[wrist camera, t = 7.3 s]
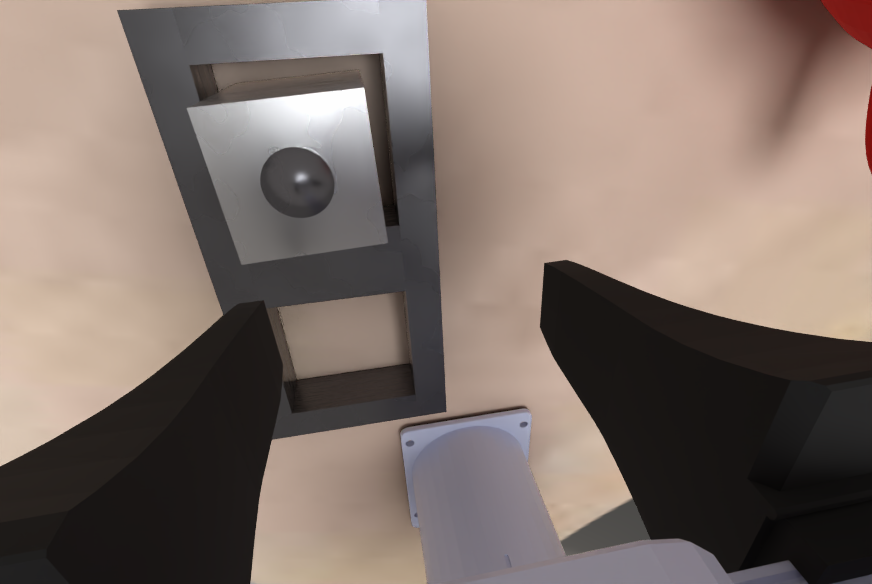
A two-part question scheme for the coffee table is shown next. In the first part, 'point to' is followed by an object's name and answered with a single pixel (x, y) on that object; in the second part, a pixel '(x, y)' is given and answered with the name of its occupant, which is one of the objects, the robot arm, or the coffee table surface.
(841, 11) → the ceramic cup
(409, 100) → the dark grey double frame
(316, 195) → the block
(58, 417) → the coffee table surface
